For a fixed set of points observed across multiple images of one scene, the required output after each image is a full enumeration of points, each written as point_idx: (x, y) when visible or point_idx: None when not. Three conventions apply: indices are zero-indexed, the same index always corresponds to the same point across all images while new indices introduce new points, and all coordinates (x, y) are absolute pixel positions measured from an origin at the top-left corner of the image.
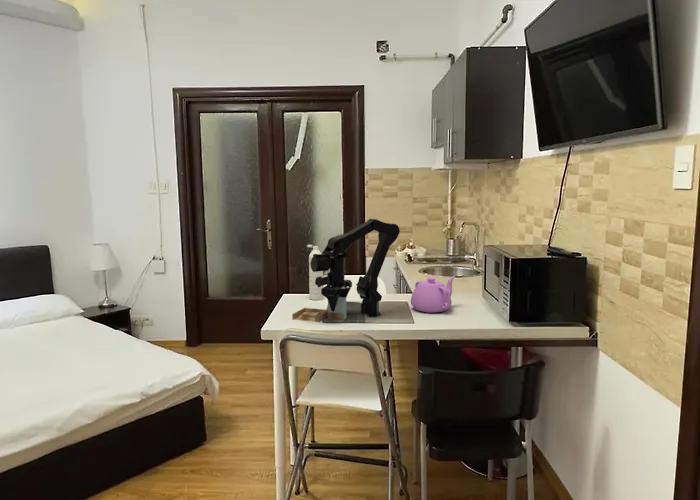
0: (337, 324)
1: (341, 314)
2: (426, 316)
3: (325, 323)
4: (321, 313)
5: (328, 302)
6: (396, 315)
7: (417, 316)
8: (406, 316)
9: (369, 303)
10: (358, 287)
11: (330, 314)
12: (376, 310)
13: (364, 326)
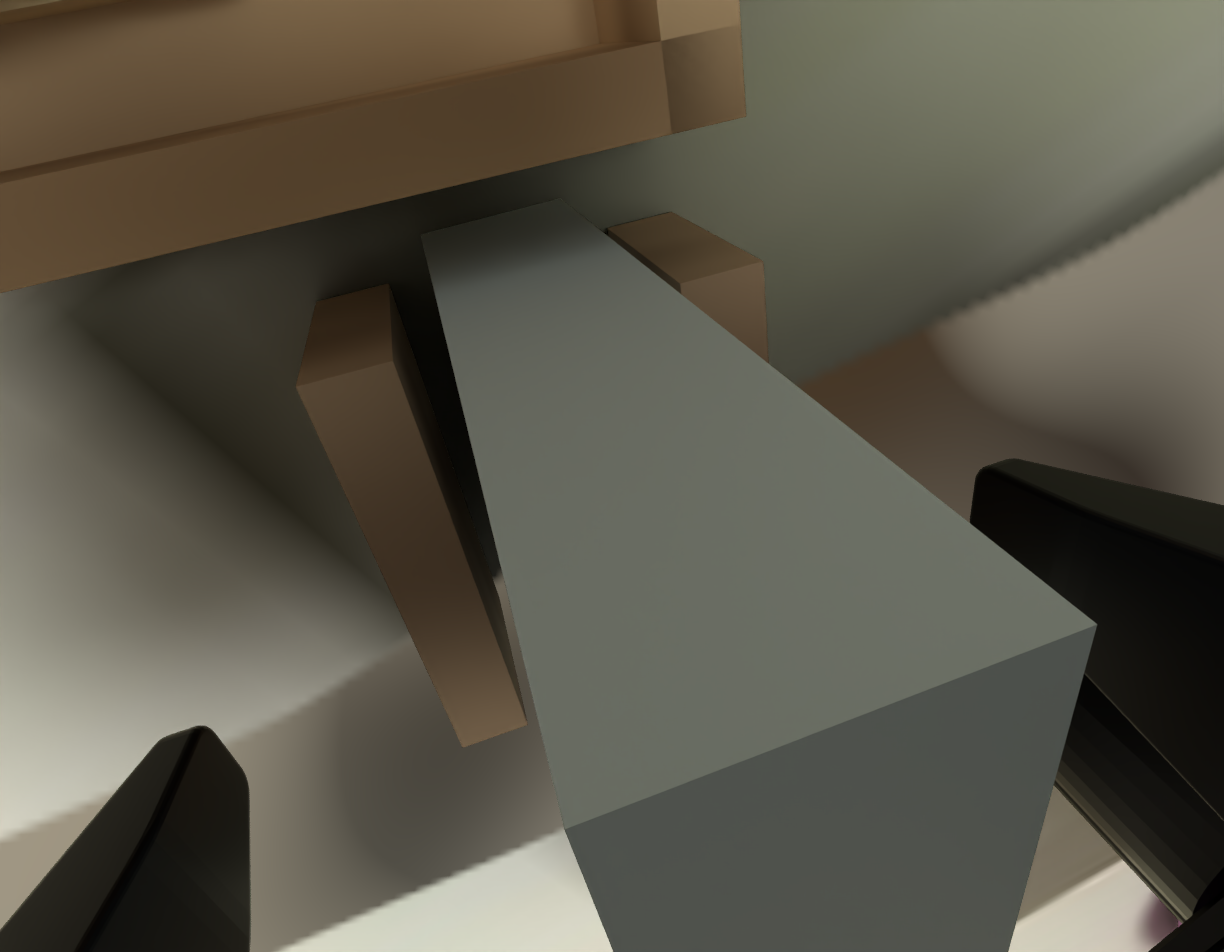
0: (219, 671)
1: (459, 737)
2: (1071, 942)
3: (29, 434)
4: (26, 211)
5: (495, 525)
6: (1070, 814)
7: (1061, 916)
8: (1046, 877)
9: (1150, 869)
10: None
11: (339, 464)
12: (1063, 793)
13: (449, 938)
